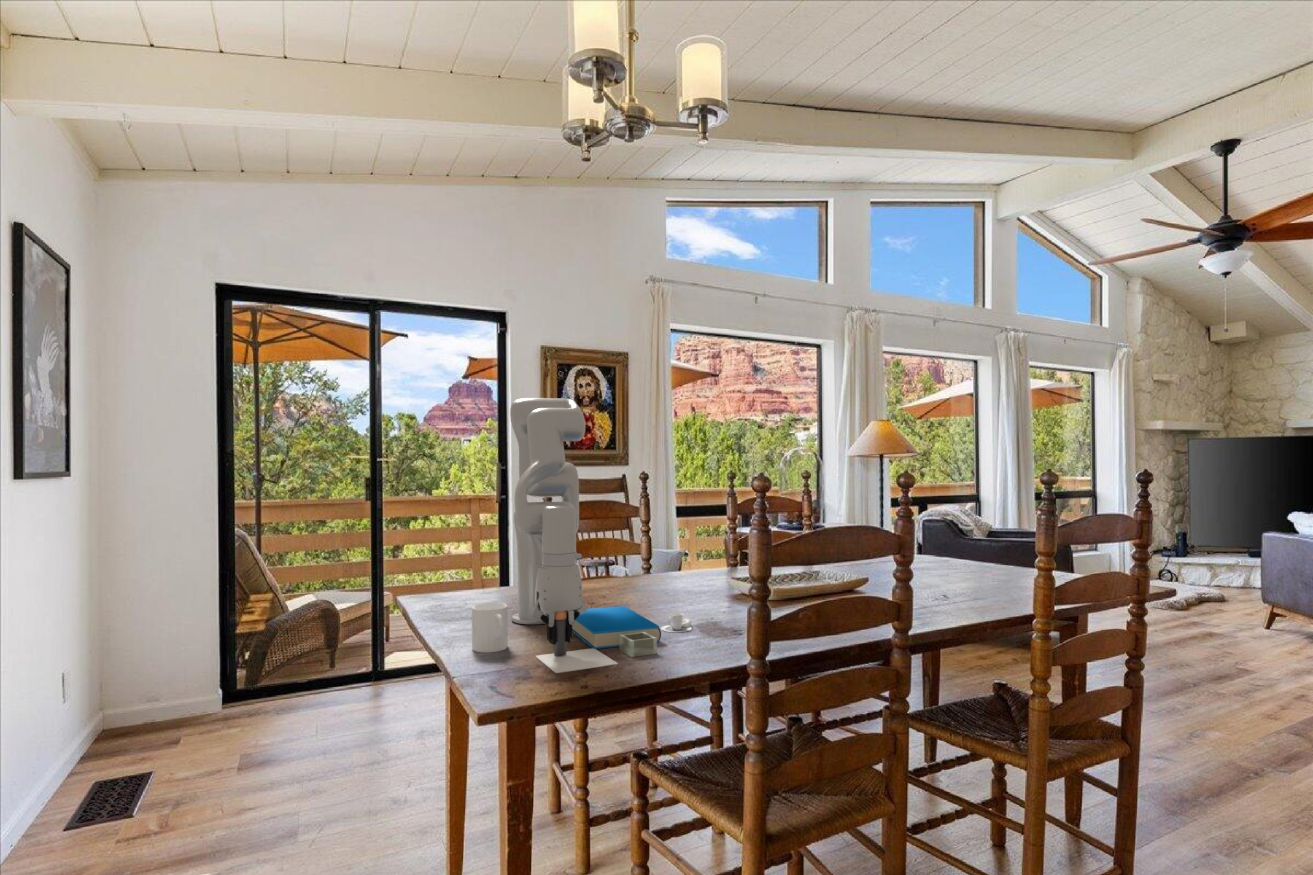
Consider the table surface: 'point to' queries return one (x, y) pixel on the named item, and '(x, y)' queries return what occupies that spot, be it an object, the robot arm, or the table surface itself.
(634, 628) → the book
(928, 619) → the table surface
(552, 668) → the paper
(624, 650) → the pen holder
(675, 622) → the teacup and saucer
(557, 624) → the marker
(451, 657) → the table surface
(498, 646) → the mug
